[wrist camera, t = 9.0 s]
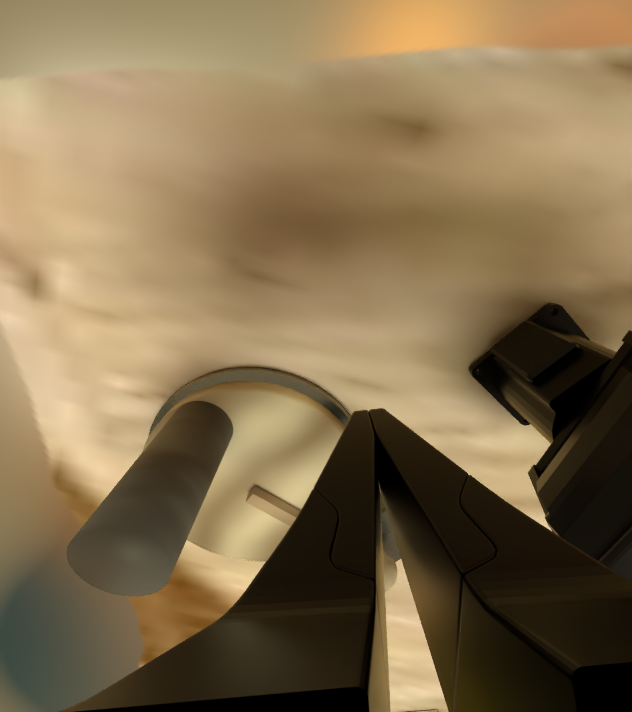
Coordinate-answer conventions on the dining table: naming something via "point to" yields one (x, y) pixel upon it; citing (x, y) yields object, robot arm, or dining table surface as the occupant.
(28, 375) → the dining table surface
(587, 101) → the dining table surface
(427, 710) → the small box
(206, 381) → the base
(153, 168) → the dining table surface
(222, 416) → the disc
